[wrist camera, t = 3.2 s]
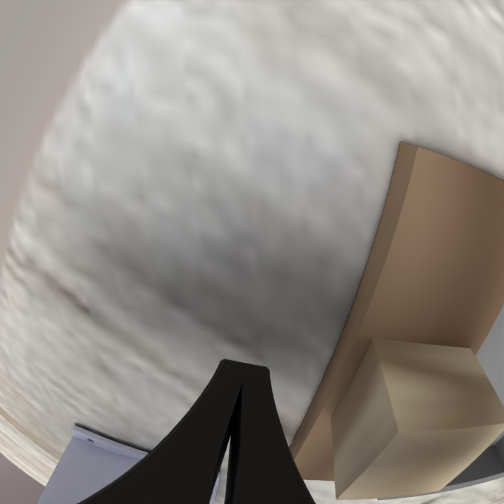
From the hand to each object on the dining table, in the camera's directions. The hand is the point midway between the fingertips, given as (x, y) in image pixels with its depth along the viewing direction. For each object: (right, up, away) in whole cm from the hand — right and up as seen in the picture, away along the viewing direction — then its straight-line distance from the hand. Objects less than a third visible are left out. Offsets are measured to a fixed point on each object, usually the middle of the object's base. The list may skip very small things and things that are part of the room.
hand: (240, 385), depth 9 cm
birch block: (+6, -1, +1) cm, 6 cm away
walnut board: (+6, 0, +2) cm, 6 cm away
